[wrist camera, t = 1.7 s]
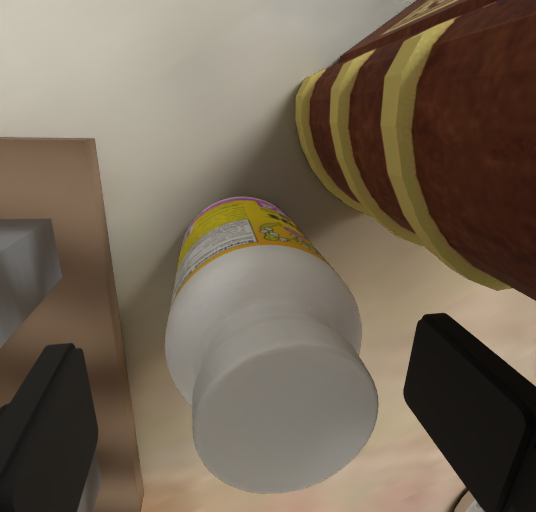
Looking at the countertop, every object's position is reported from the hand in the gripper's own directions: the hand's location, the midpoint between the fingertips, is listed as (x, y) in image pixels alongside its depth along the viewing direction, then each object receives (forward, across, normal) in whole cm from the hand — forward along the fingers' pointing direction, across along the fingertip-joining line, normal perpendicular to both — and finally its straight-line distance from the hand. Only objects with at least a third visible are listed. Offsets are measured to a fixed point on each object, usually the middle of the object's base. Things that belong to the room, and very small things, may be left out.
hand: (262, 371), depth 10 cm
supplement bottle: (+11, -1, +1) cm, 11 cm away
